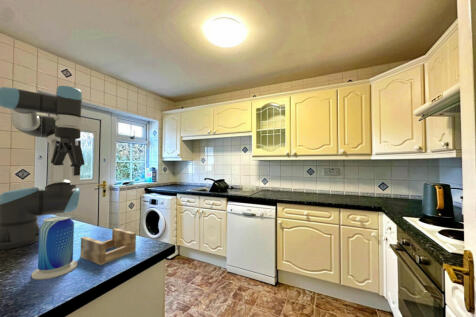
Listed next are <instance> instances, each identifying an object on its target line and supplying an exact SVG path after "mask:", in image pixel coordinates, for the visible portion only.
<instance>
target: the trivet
mask: <svg viewBox="0 0 476 317" xmlns="http://www.w3.org/2000/svg"><path fill="white" fill-rule="evenodd" d="M78 264H79V263H78V261H77V260H74V259H73V261H72V262H71V263H70V265H69V266H68V267H67V268H65V269H63V270H61V271H57V272H54V273H42V272H41V271H40V270H38V268H37V269H34V270H33V272H31V279H33V280H39V281H40V280H48V279H53V278H56V277H61V276H63V275H66V274H68V273H70V272H72V271H74V270H75V269H76V268H77V267H78Z"/></svg>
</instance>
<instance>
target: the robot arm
mask: <svg viewBox="0 0 476 317" xmlns="http://www.w3.org/2000/svg"><path fill="white" fill-rule="evenodd" d="M82 94H83V92H82V91H81V90H80V89H78V88H76V87H73V86H70V85H69V86H67V85H59V86H57V88H56V93H55V95H52V94H46V93H43V92H36V91H31V90H27V89H26V90H25V89H20V88H17V87H8V86H7V87H6V86H2V87H0V107H1V108H3V109H5V108H6V109H8V110H11V113H12V116H11V123H12V125H13V127H14V128H15V129H17V130H18V131H19V132H22V133H23V134H26V135H29V136H32V137H36V138H45V139H46V141H47V142H48V143H49V145H50V146H49V182H48V183H47V184H46V185H45V186H44V189H41V190H40V189H39V187H37V186H36V187H26V188H18V189H12V190H7V191H4V192H2V193H1V194H0V250H10V249H14V248H20V247H25V246H29V245H31V244H34V243H38V242H39V228H40V226H39V223H38V217H40V216H41V217H42V216H47V215H57V214H58V215H59V214H66V213H71V212H74V211H76V210H77V209H78V206H79V201H80V194H81V189H80V187H77V185H81V167H82V166H84V165H85V160H84V159H85V158H84V154H83V151H82V146H81V145H82V142H81V141H82V140H80V139H81V132H82V131H81V128H82V106H83V105H82V101H83V95H82ZM38 113H42V114H47V115H41V114H38ZM48 115H49V116H48ZM50 115H55V116H50Z"/></svg>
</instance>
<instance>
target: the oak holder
mask: <svg viewBox="0 0 476 317" xmlns="http://www.w3.org/2000/svg"><path fill="white" fill-rule="evenodd" d="M111 232H112V233H111V235H112V236H111V239H107V240H104V241H101V240H97V239H94V238H91V237H88V236H83V237H81V238H80V258H82V259H84V260H87V261H89V262H91V263H94V264H97V265H99V266H102V265H105V264H107V263H109V262H112V261H114V260H116V259H119V258H122V257H123V256H126V255H130V254H131V253H134V252H136V248H137V246H136V245H137V241H136V240H137V232H133V231H129V230H125V229H121V228H117V227H116V228H112V230H111ZM113 248H114V249H113ZM110 249H111V250H110ZM112 249H113V250H112ZM106 250H109V251H106Z"/></svg>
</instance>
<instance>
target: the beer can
mask: <svg viewBox="0 0 476 317" xmlns="http://www.w3.org/2000/svg"><path fill="white" fill-rule="evenodd" d="M74 232H75V223H74V220H72V216H70V215H58V216H51V217H46V218H44V219H43V222H42V224H41V225H40V226H39V241H38V249H37V250H38V253H37V254H38V256H37V269H38V270H40V271H41V272H42V273H54V272H57V271H61V270H63V269H65V268H67V267H68V266H69V265H70V263H71V262H72V261H73V260H74V257H73V256H74V238H75V237H74V236H75V235H74Z"/></svg>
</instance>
